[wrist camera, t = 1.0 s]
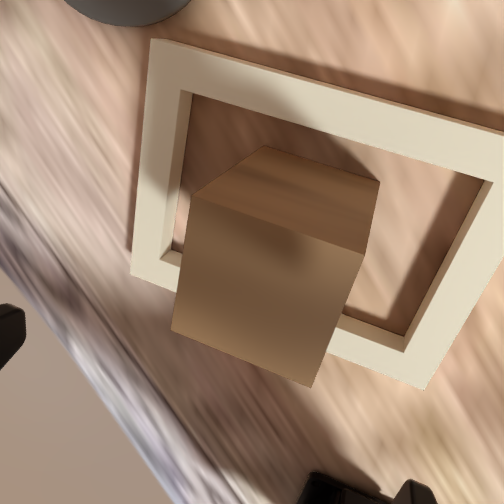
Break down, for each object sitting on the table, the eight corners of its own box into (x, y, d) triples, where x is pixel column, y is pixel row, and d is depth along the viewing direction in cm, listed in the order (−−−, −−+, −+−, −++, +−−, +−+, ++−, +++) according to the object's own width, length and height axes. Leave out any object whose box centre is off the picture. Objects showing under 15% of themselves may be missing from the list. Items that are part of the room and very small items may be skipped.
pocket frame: (423, 372, 20) (423, 390, 19) (142, 264, 23) (129, 274, 22) (554, 146, 15) (564, 153, 14) (165, 38, 17) (150, 38, 16)
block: (340, 283, 19) (310, 388, 13) (240, 246, 20) (170, 330, 14) (380, 181, 17) (364, 255, 11) (264, 145, 18) (191, 195, 12)
